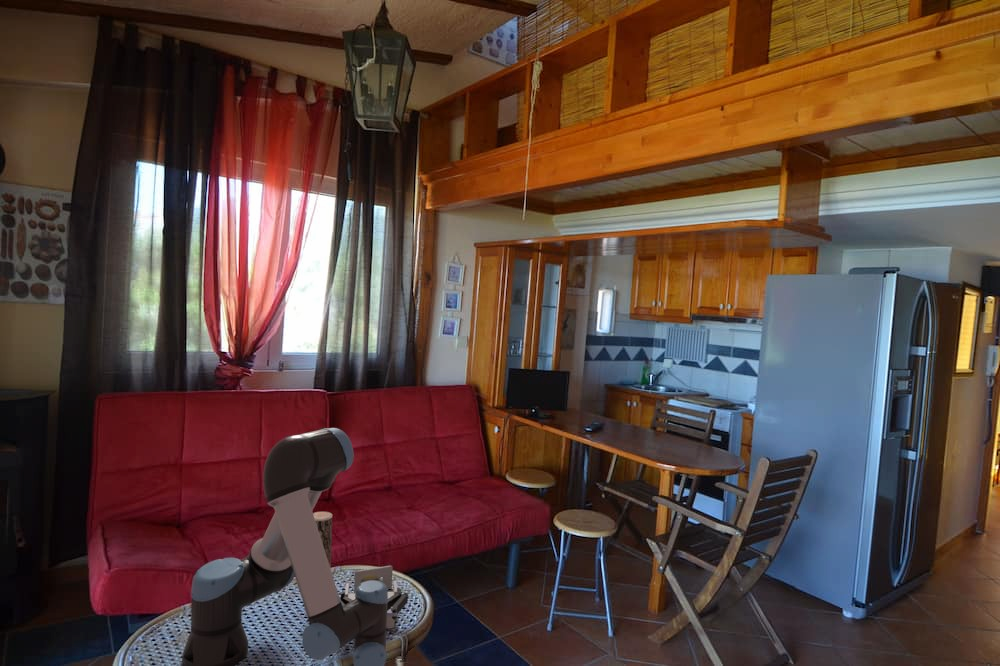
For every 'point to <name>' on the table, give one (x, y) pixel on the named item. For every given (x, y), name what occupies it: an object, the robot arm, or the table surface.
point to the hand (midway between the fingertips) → (371, 586)
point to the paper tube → (325, 531)
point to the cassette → (379, 572)
